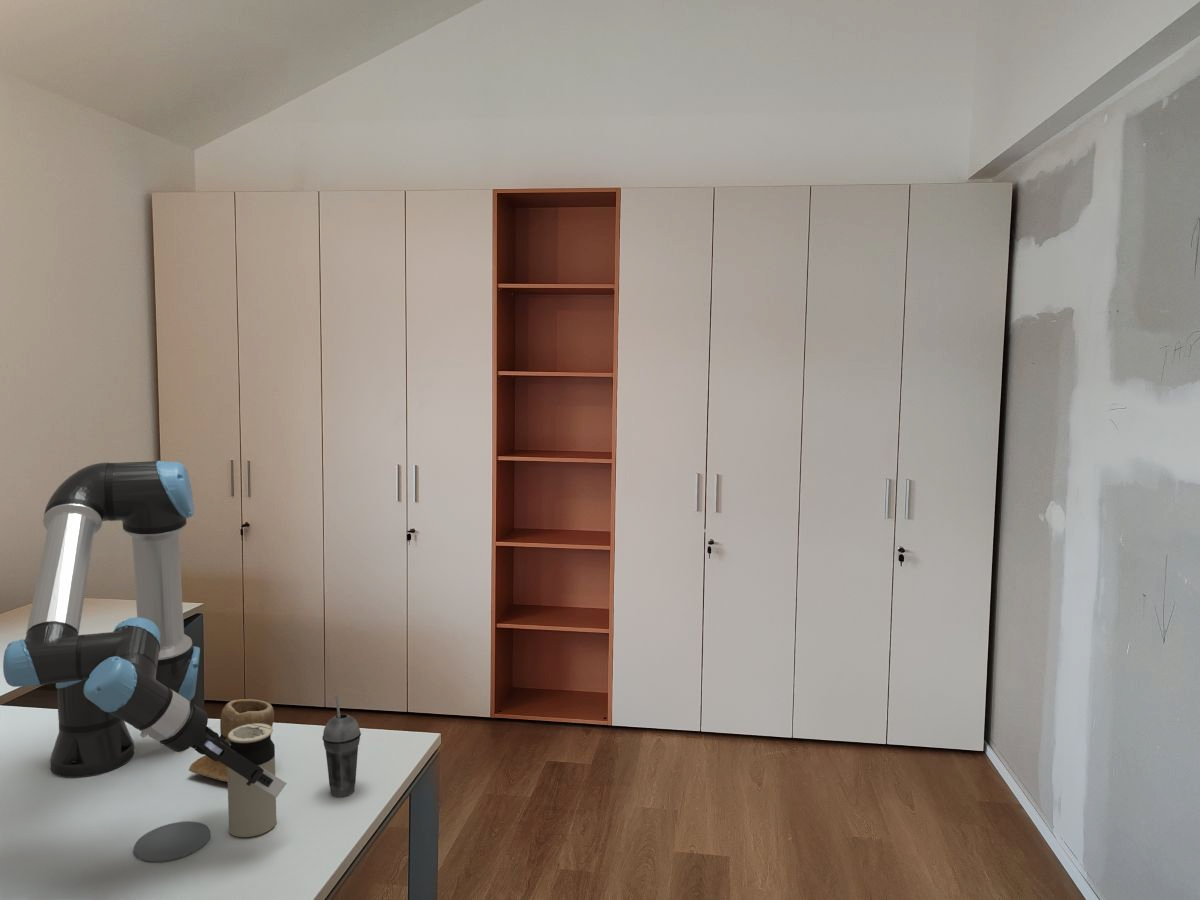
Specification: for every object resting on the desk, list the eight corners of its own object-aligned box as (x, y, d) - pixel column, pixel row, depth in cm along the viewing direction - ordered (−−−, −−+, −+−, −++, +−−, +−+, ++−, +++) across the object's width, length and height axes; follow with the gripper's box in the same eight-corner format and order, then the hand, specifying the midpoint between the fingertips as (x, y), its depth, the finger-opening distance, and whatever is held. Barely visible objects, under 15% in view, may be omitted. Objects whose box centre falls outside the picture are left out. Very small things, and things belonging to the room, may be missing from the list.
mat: (123, 842, 146) (123, 840, 146) (194, 816, 155) (194, 814, 155) (148, 871, 138) (148, 868, 138) (222, 842, 147) (221, 839, 147)
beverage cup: (369, 787, 167) (368, 690, 165) (344, 804, 160) (342, 703, 159) (341, 779, 170) (339, 684, 168) (315, 795, 163) (313, 697, 162)
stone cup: (288, 768, 175) (286, 698, 173) (244, 794, 164) (242, 720, 162) (233, 754, 180) (231, 687, 179) (187, 779, 169) (185, 707, 168)
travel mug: (247, 843, 147) (244, 745, 145) (219, 830, 151) (216, 734, 149) (285, 823, 153) (283, 729, 152) (258, 811, 158) (256, 719, 156)
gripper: (131, 719, 147) (220, 772, 160) (187, 766, 130) (281, 821, 143) (162, 682, 151) (247, 737, 163) (220, 723, 134) (310, 781, 146)
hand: (263, 776), depth 153 cm, fingers open, 13 cm apart
